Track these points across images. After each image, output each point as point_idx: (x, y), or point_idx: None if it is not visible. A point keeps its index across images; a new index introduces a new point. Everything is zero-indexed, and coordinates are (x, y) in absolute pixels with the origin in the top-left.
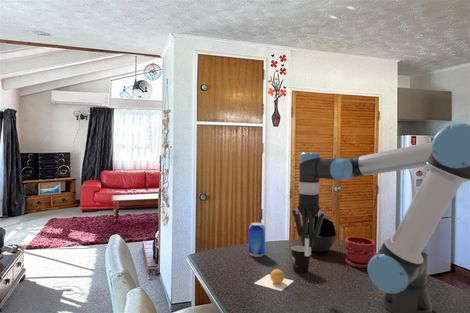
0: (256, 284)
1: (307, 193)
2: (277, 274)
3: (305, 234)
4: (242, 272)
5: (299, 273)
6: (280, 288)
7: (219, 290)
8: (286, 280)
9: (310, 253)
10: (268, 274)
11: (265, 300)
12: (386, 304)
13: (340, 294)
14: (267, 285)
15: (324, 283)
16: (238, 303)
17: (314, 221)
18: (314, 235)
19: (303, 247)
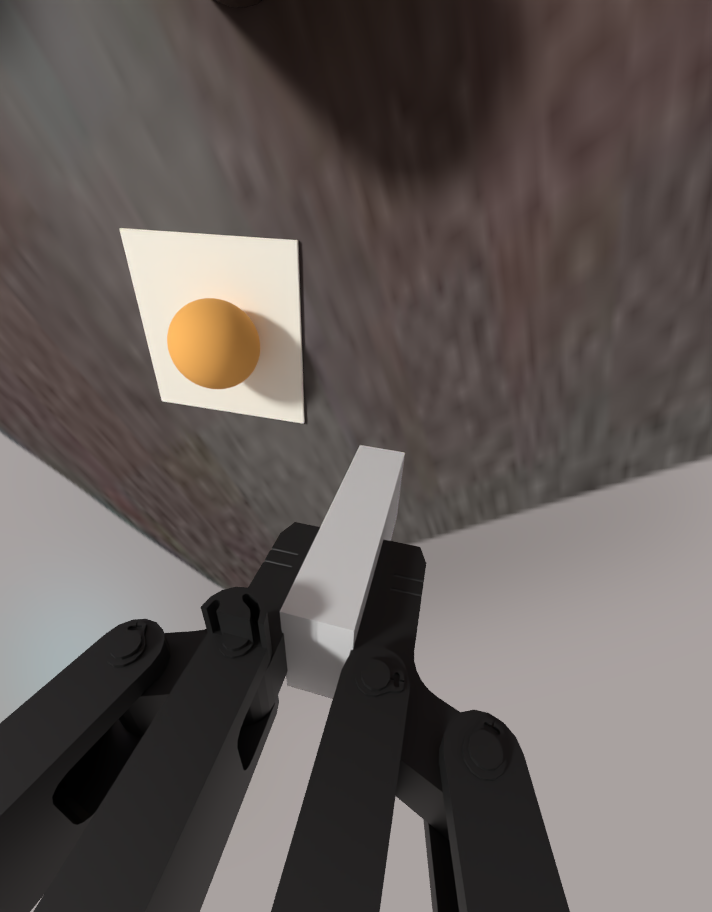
0: (176, 401)
1: None
2: (221, 385)
3: (259, 752)
4: (18, 284)
5: (256, 3)
6: (288, 400)
7: (129, 507)
8: (257, 266)
9: (400, 479)
10: (122, 230)
11: (296, 521)
12: None
13: (653, 292)
14: (221, 395)
15: (516, 123)
16: (239, 564)
17: None
18: (444, 834)
19: None
